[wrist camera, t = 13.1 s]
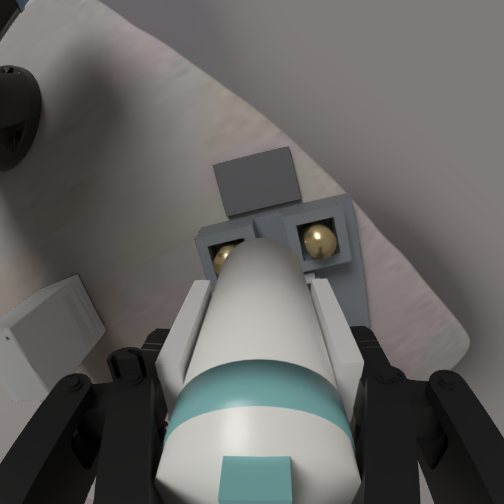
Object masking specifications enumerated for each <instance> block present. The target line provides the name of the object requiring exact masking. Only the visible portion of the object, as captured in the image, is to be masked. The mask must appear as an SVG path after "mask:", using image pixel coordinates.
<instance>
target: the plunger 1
mask: <svg viewBox="0 0 504 504" xmlns="http://www.w3.org/2000/svg"><path fill="white" fill-rule="evenodd" d="M240 243H242V242H241V241H239V240H237V239H236V240H232V241H228V242H224V243H223V244H222V245H221V247H220V249H219V251H218V253H217V255H216V257H215V259H214V263H213V266H214V270H215V272H216V273H217V275H218V276H219V273H220V270H221V267H222V264H223V262H224V260H225V258H226V256H227V255H228V253H229V252H230V251H231V250H232V249H233V248H234V247H236V246H237V245H238V244H240Z"/></svg>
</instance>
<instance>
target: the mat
mask: <svg viewBox="0 0 504 504" xmlns="http://www.w3.org/2000/svg"><path fill="white" fill-rule="evenodd" d="M213 169H214V172H215V176H216V180H217V184H218V187H219V191H220V195H221V198H222V202H223V206H224V209H225V213H226V217H227V216H231V215H235V214H239V213H243V212H247V211H252V210H256V209H260V208H264V207H268V206H272V205H277V204H281V203H285V202H290V201H294V200H298V199H301V196H300V192H299V188H298V183H297V179H296V175H295V171H294V167H293V162H292V158H291V154H290V150H289V146H288V147H283V148H279V149H275V150H270V151H266V152H262V153H258V154H254V155H250V156H246V157H242V158H238V159H234V160H230V161H227V162H223V163H219V164H216V165H213Z"/></svg>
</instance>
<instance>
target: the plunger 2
mask: <svg viewBox="0 0 504 504" xmlns="http://www.w3.org/2000/svg"><path fill="white" fill-rule="evenodd" d="M301 236H302V239H303V242H304V244H305V247H306V249H307V251H308V253H309V254H310V255H311V256H312V257H314V258H316V259H325V258H328V257H329V256H331V255H332V254H333V253H334V251H335V249H336V246H337V241H336V237H335V236H334V234H333V233H332V232H331V230H330V229H329V228H328V227H327V225H326V224H325V223H324V222H322V221H320V220H318V221H313V222H309V223H306V224H305V225H304V226H303V228H302V231H301Z"/></svg>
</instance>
